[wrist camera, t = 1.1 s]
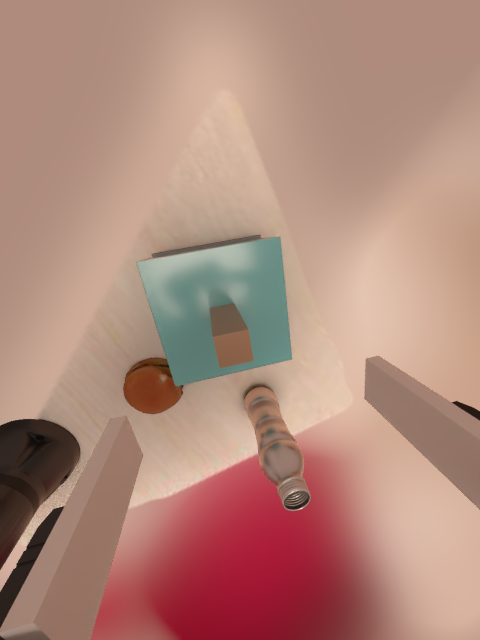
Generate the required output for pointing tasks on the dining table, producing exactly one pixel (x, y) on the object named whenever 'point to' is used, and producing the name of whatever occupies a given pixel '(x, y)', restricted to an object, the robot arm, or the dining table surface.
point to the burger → (151, 386)
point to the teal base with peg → (219, 308)
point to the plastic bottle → (277, 449)
